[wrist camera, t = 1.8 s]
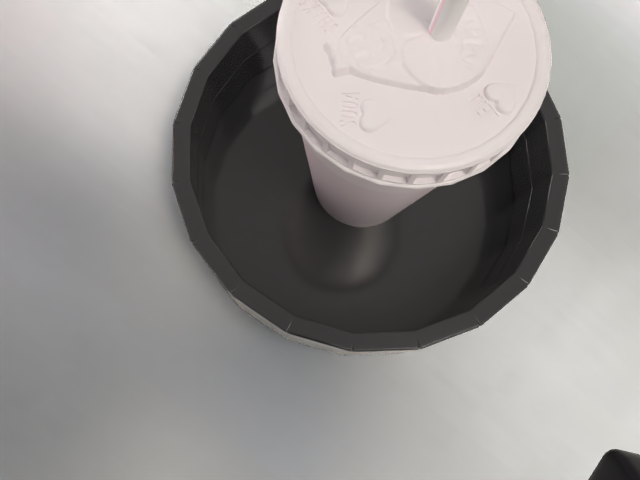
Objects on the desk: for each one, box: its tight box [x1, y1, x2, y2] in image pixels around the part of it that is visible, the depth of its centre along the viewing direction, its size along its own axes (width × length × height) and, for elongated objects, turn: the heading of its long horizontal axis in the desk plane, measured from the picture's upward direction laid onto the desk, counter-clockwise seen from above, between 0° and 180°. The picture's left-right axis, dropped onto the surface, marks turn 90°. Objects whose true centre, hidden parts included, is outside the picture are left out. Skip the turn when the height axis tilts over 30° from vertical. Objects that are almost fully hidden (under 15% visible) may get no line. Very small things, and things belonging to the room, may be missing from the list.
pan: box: [172, 0, 569, 355], centre depth 21 cm, size 13×13×4 cm
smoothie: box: [273, 0, 552, 227], centre depth 15 cm, size 6×6×14 cm
